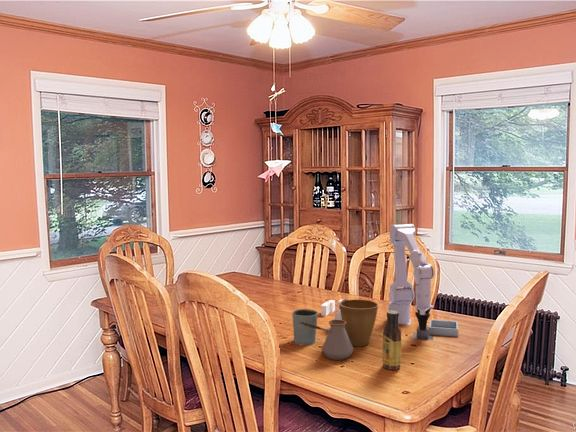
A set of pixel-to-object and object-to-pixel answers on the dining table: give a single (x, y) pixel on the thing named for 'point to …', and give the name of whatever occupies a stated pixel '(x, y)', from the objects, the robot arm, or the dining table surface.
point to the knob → (423, 333)
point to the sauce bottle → (392, 342)
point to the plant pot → (359, 320)
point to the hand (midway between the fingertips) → (422, 327)
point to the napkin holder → (327, 307)
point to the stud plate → (422, 338)
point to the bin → (443, 327)
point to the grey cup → (304, 333)
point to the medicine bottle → (338, 313)
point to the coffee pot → (335, 340)
